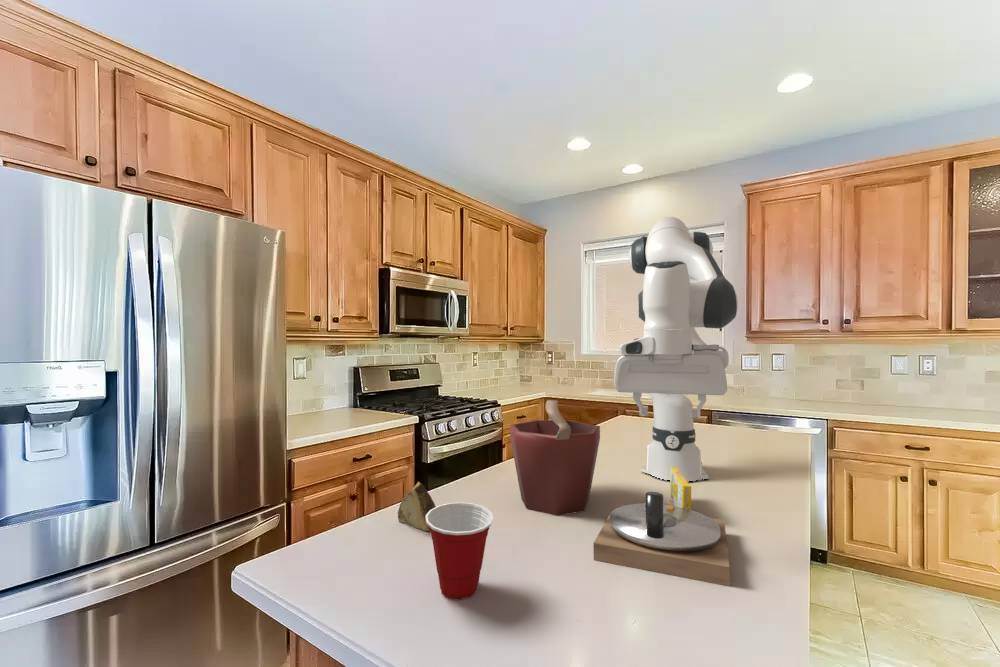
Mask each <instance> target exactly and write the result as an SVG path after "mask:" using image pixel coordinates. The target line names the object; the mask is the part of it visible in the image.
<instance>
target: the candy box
mask: <svg viewBox="0 0 1000 667" xmlns="http://www.w3.org/2000/svg"><path fill="white" fill-rule="evenodd" d="M669 483H670V484H669V485H670V486H669V488H670V489H669V500H670V502H671V504H672V506H677V507H681V508H686V509H689V510H692V509H691V508H692V486H691V485H690V482H687V481H686V479H685V478H684V477H683V475H682V474H681V472H680V471H679V470H678V468H673V467H671V476H670V481H669Z"/></svg>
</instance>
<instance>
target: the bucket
mask: <svg viewBox="0 0 1000 667" xmlns="http://www.w3.org/2000/svg"><path fill="white" fill-rule="evenodd" d="M545 411H546V413H547V415H548V419H546V420H545V419H533V420H528V421H523V422H516V423H512V424H511V423H510V424H509V438H510V444H511V448H512V455H513V459H514V464H515V465H514V466H515V470H516V476H517V481H518V488H519V492H520V497H521V499H520V500H522V502H523V505H524V507H525V509H526V510H527V511H529V510H530V511H534V512H538V513H543V514H546V515H547V514H548V515H551V516H561V514H562V515H567V513H569V514H575V513H574V512H576V513H581V512H580V511H584V512H585V510H586V509H587V506H588V504H589V502H588V501H590V496H591V490H592V486H593V485H592V484H593V480H594V474H595V473H594V472H595V470H596V469H595V467H596V461H597V456H598V452H599V446H600V440H601V426H600V425H595V424H590V423H587V422H581V421H576V420H565V418H563V416H562V413H561V412H560V409H559V400H557V399H555V400H550V399H548V400H546V402H545ZM587 503H588V504H587ZM585 508H586V509H585Z"/></svg>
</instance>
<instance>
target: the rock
mask: <svg viewBox="0 0 1000 667" xmlns="http://www.w3.org/2000/svg"><path fill="white" fill-rule="evenodd" d="M435 507H437V505H436V504H435V502H434V500H433V498H432V497H431V495H430V493H429V492H428V490H427V489H426V487H425V486H424V484H422V483H421V482H420V481H417V483H416V484H415V485H414V486H413V488H412V489H411V490H409V491H408V493H406V494H405V495H404V497H403V498H402V499H401V502H400V504H399V508H398V511H397V520H398V521H399V522H402V523H405V524H406V525H409V526H412V527H413V528H416V529H420V530H422V531H425V532H430V529H429V527H428V525H427V523H426V514H427V513H428V512H429V511H430V510H431V509H433V508H435Z"/></svg>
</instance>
